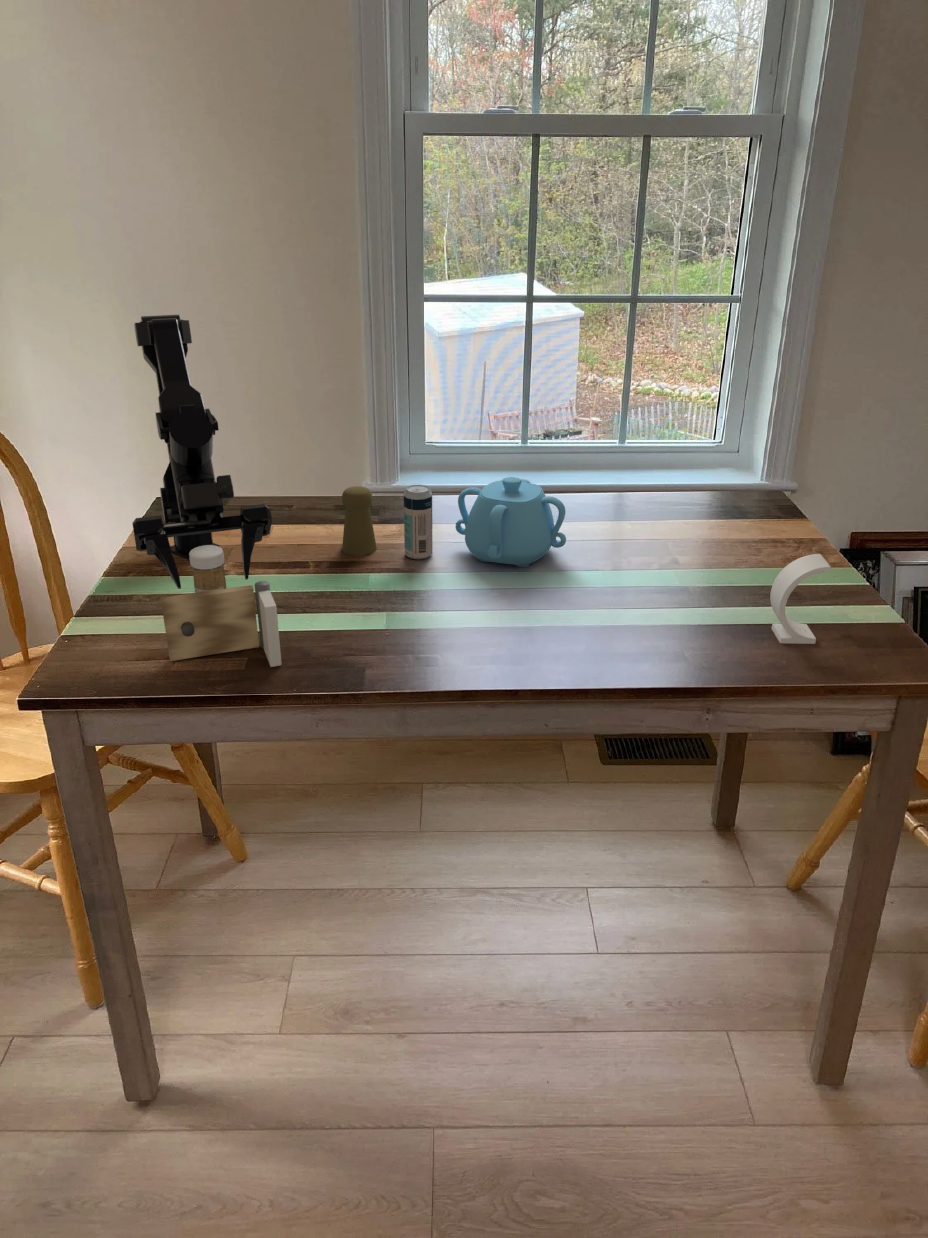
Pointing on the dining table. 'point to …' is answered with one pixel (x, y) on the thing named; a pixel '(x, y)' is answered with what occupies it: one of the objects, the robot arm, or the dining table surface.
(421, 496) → the beer can
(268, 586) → the door frame
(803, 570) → the headphone stand
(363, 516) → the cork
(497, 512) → the decorative pot
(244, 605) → the door
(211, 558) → the sprinkles bottle
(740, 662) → the dining table surface
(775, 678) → the dining table surface
